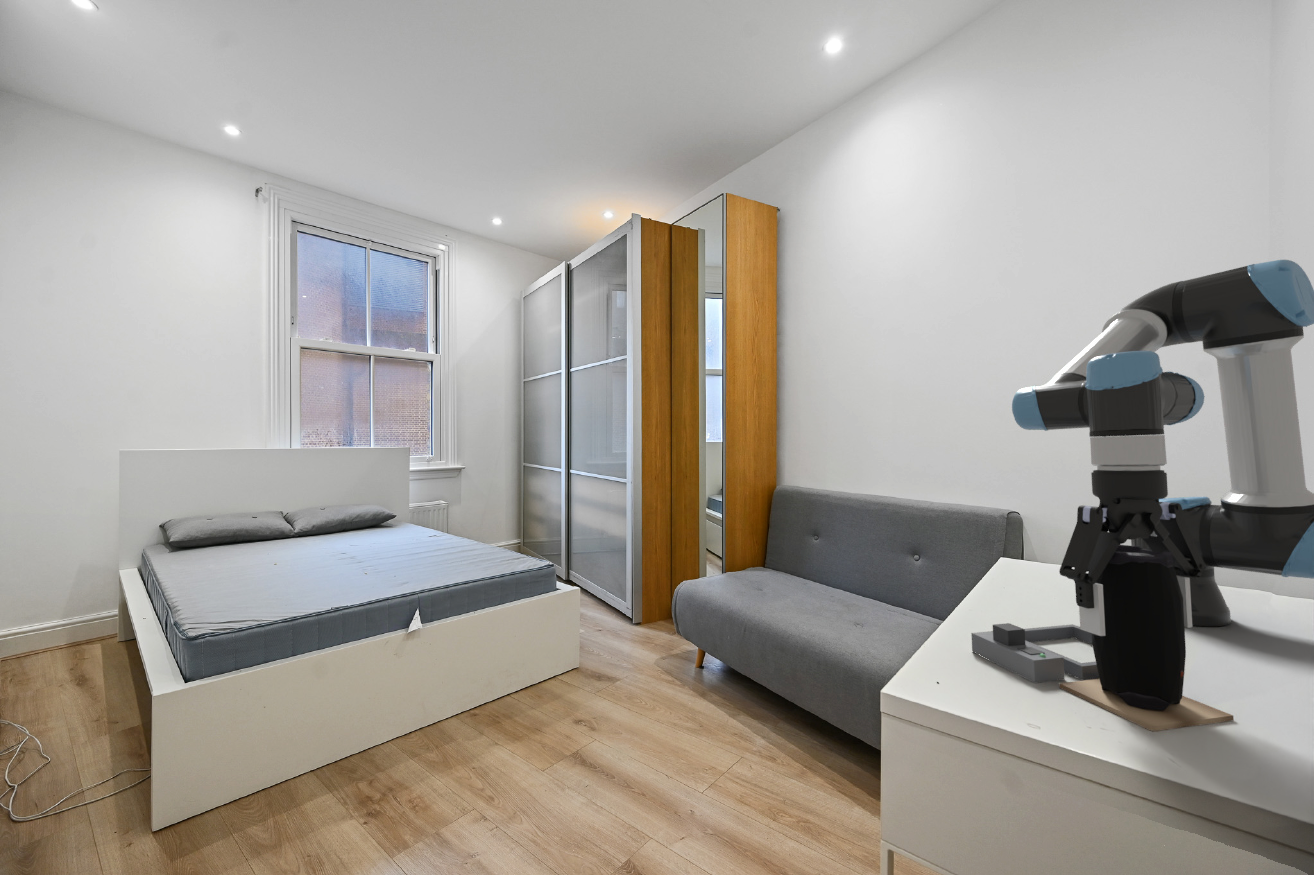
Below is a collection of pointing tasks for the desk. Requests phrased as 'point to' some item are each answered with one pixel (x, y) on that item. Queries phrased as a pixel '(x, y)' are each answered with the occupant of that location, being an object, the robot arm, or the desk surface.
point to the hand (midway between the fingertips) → (1136, 628)
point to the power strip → (1018, 653)
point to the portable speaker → (1142, 629)
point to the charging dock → (1070, 666)
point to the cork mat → (1152, 720)
